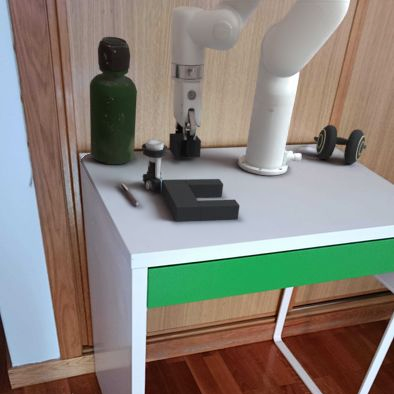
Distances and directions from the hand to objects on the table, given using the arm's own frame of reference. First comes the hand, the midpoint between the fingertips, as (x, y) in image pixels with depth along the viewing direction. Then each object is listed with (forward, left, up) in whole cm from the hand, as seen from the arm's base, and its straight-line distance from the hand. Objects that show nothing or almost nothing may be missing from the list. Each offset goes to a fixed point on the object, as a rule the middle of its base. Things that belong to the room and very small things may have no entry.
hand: (184, 150), depth 126 cm
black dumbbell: (-40, +6, +3) cm, 41 cm away
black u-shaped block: (+4, +29, -2) cm, 29 cm away
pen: (+18, +23, -2) cm, 29 cm away
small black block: (0, 0, -1) cm, 1 cm away
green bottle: (+18, 0, -1) cm, 18 cm away
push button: (+12, +19, -2) cm, 22 cm away
